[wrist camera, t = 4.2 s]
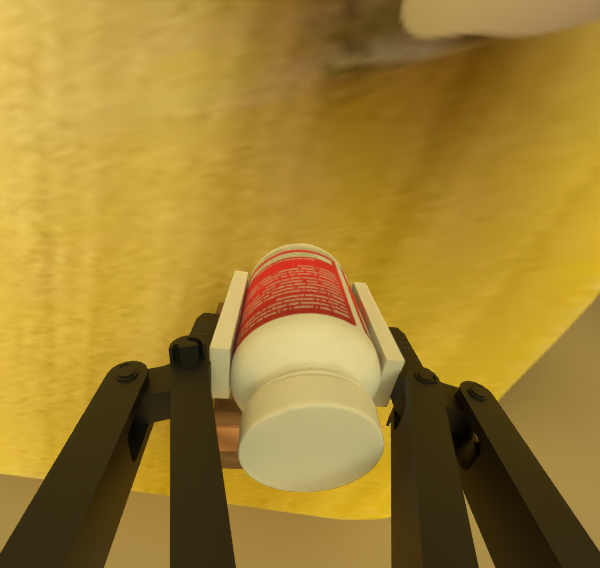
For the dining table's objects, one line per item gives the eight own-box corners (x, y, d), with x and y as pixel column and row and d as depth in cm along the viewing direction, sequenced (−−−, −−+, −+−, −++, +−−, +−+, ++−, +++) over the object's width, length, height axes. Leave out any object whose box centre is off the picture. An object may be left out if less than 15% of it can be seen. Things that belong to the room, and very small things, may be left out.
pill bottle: (229, 283, 19) (169, 456, 9) (301, 218, 17) (324, 349, 7) (294, 338, 21) (303, 523, 11) (364, 287, 19) (444, 454, 10)
